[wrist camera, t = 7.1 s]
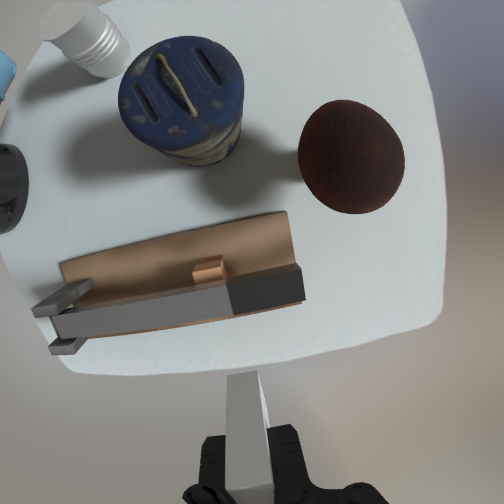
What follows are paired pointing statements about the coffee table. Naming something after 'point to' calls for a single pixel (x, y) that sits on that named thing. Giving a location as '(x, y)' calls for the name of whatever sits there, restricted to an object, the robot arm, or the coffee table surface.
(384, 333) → the coffee table surface
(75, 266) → the base
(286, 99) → the coffee table surface
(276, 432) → the robot arm
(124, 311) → the lever
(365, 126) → the decorative mushroom
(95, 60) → the white ribbed cylinder
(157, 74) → the canister
